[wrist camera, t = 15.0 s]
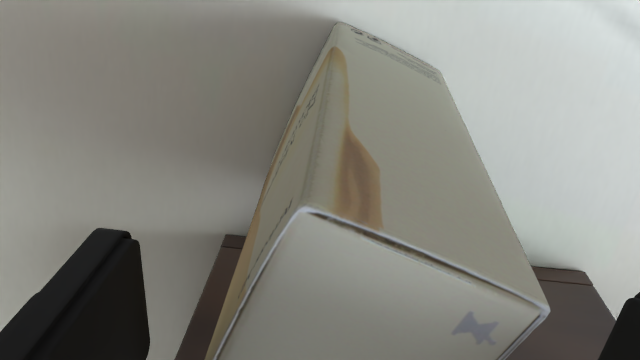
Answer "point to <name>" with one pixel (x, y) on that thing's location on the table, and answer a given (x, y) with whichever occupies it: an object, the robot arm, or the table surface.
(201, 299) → the chest
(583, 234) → the table surface
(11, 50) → the table surface
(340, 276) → the cosmetic box
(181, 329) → the table surface
